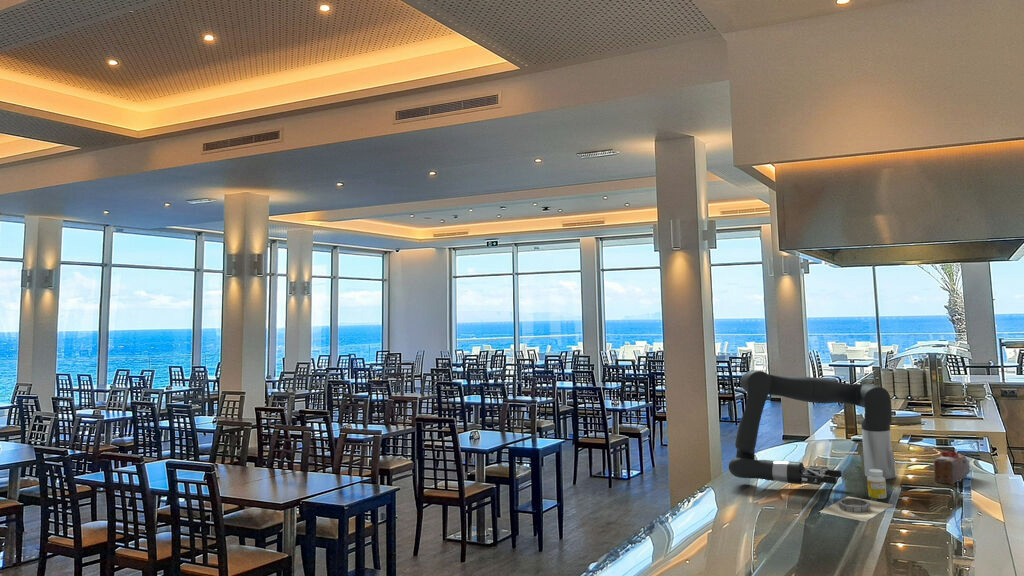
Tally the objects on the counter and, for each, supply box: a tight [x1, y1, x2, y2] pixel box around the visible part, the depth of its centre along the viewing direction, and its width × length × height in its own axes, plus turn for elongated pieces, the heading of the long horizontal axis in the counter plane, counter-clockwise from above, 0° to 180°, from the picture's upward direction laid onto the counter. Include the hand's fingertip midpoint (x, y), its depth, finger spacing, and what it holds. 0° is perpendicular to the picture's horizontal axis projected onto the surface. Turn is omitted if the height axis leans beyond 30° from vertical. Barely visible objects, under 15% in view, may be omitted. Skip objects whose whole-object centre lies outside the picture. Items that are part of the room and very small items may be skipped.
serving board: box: [818, 495, 893, 523], centre depth 209 cm, size 20×14×1 cm
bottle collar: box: [837, 497, 870, 513], centre depth 209 cm, size 9×9×2 cm
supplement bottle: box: [866, 469, 887, 500], centre depth 219 cm, size 5×5×10 cm
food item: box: [933, 451, 971, 484], centre depth 235 cm, size 14×8×10 cm, turn 128°
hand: (838, 477), depth 226 cm, fingers open, 8 cm apart
